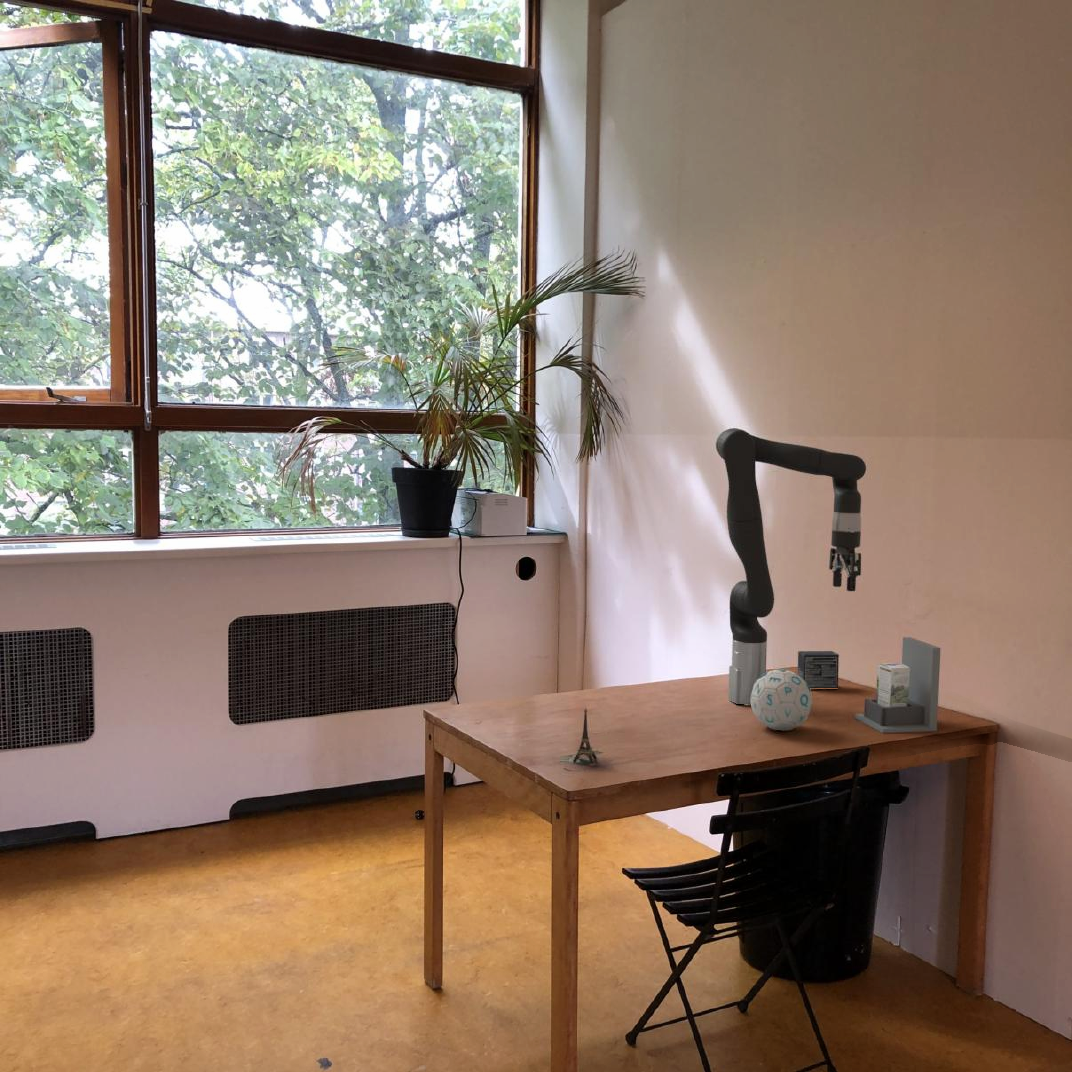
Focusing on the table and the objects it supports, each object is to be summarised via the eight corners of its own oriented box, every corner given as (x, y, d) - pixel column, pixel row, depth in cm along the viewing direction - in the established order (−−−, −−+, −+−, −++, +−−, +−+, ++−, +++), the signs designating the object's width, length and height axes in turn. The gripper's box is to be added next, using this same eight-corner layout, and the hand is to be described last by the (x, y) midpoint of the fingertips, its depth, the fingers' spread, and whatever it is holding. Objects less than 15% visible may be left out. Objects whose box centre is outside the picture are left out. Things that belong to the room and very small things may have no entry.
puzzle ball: (755, 737, 265) (757, 676, 263) (744, 721, 280) (746, 663, 278) (818, 737, 265) (820, 677, 263) (803, 721, 280) (805, 664, 278)
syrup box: (892, 717, 282) (895, 661, 280) (907, 722, 276) (910, 666, 275) (874, 718, 280) (876, 663, 278) (889, 724, 274) (891, 667, 273)
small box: (831, 685, 323) (832, 650, 322) (838, 690, 316) (840, 654, 316) (796, 685, 322) (797, 650, 321) (803, 690, 316) (804, 654, 315)
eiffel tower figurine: (598, 752, 252) (599, 695, 251) (624, 763, 243) (625, 704, 242) (543, 762, 244) (544, 703, 243) (569, 774, 235) (569, 713, 234)
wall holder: (882, 732, 270) (886, 649, 268) (854, 717, 285) (858, 638, 283) (936, 731, 272) (940, 648, 270) (906, 715, 287) (910, 637, 285)
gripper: (822, 527, 300) (819, 585, 302) (844, 531, 286) (842, 592, 288) (847, 527, 302) (845, 585, 303) (871, 531, 288) (869, 592, 289)
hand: (843, 588), depth 295 cm, fingers open, 8 cm apart
